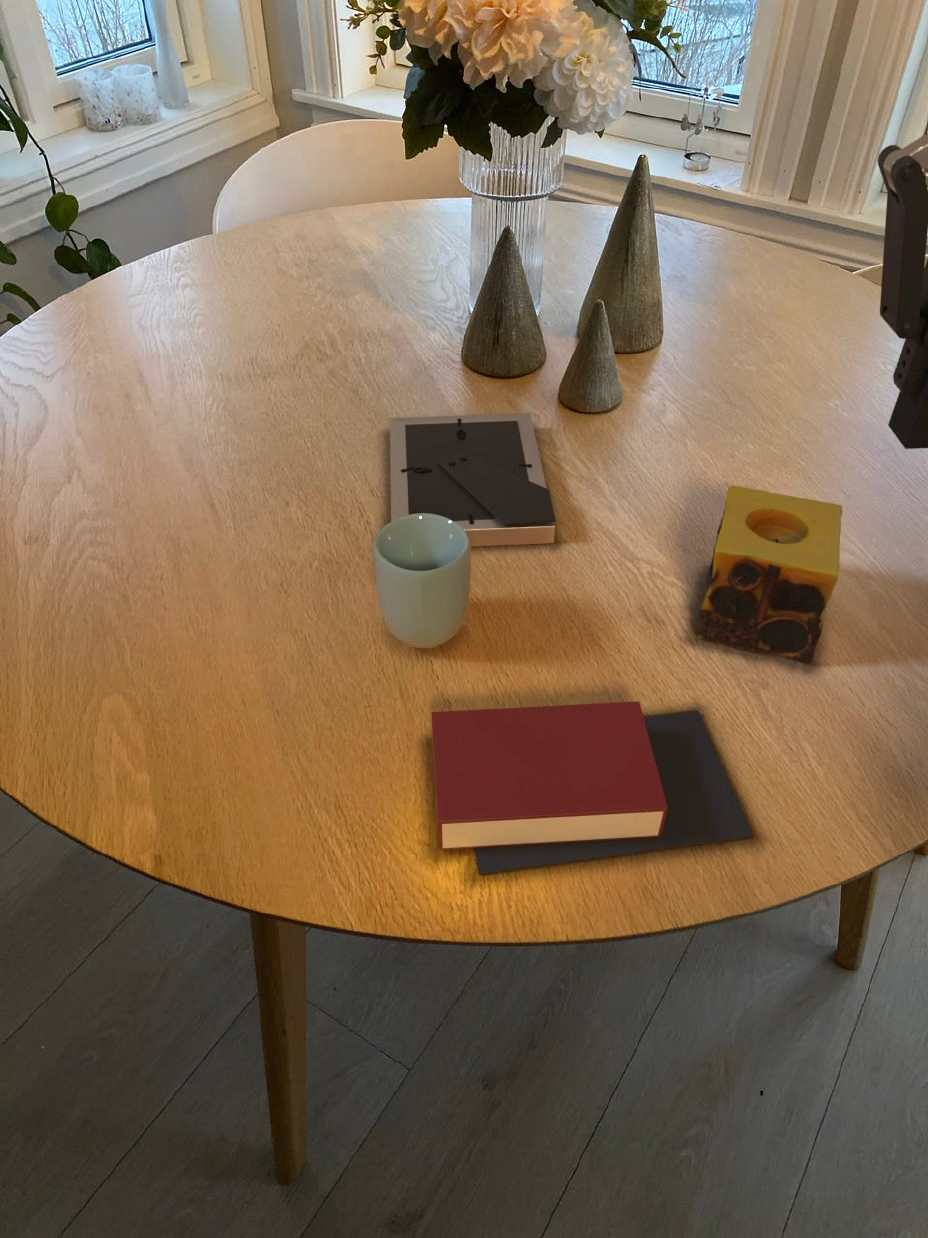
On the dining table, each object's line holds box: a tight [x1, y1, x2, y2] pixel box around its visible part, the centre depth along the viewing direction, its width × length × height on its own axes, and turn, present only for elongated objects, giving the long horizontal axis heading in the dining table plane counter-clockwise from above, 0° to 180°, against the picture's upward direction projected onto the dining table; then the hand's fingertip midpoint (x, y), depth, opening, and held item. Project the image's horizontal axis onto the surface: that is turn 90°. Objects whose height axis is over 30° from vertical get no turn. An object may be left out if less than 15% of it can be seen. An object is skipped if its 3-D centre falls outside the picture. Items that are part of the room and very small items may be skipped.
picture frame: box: [389, 412, 557, 548], centre depth 100 cm, size 16×3×21 cm
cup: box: [372, 513, 472, 649], centre depth 81 cm, size 8×8×10 cm
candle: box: [693, 484, 843, 665], centre depth 83 cm, size 10×10×10 cm
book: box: [430, 700, 668, 851], centre depth 71 cm, size 10×4×16 cm
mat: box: [473, 710, 754, 876], centre depth 72 cm, size 20×12×1 cm, turn 99°
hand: (908, 436), depth 59 cm, fingers closed
